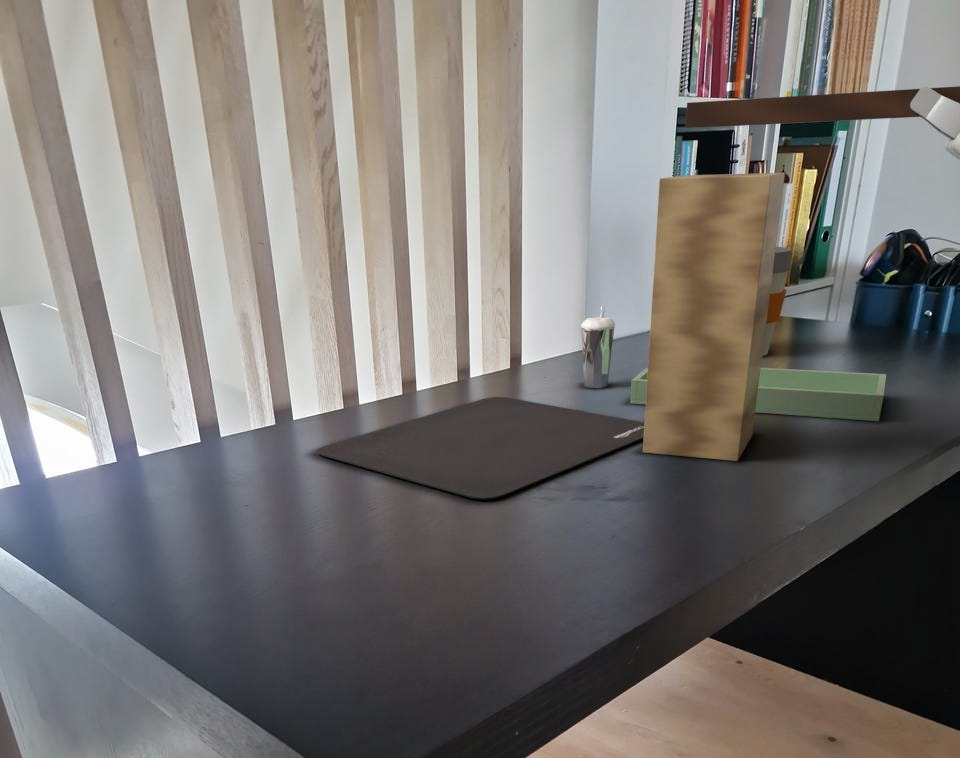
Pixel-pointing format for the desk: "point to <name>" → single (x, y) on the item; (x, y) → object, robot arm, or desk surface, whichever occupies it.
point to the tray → (807, 393)
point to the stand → (709, 311)
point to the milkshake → (597, 350)
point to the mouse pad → (487, 446)
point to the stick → (808, 108)
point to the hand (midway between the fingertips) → (915, 96)
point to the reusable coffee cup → (777, 292)
